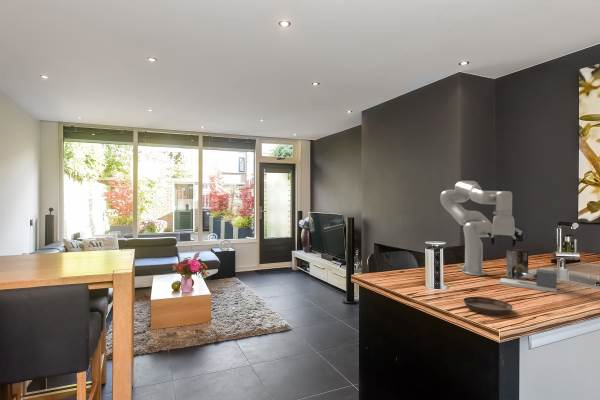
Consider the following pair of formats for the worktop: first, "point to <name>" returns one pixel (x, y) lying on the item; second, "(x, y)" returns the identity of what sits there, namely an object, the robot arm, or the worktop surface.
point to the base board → (524, 284)
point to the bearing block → (546, 278)
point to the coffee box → (517, 262)
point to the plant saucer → (487, 305)
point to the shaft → (524, 275)
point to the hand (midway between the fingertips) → (503, 245)
